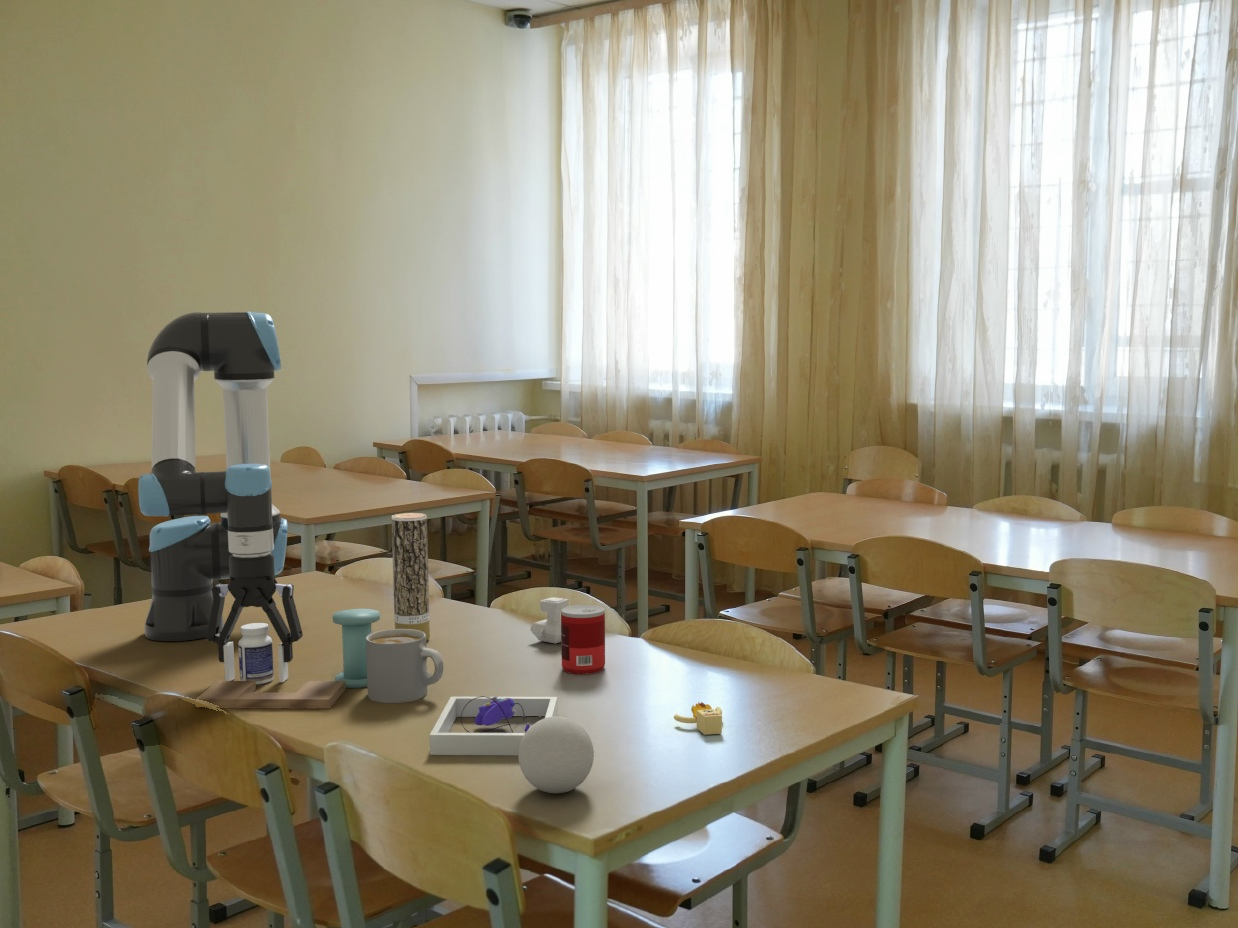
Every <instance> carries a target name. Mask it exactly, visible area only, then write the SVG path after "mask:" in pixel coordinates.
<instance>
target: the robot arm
mask: <svg viewBox="0 0 1238 928" xmlns="http://www.w3.org/2000/svg"><path fill="white" fill-rule="evenodd" d="M274 323H275V322H274V319H273V318H272V316H271V315H270V314H268V313H265V312H254V311H239V312H238V311H237V312H236V311H235V312H233V311H231V312H229V311H228V312H201V311H197V312H189V313H186V314H183V315H180V316H179V317H176V318H175V319H172V321H170V322H169V323H167V324H166V325H165V326H164V327H163V328H162V329H161V330H160V331H159V333H158V334H157V336H156V337H155V338H154V339H153V342H152V343H151V345H150V348H149V351H148V355H147V357H146V360H147V361H146V372H147V375H148V376H149V378H150V379H151V380H152V390H151V391H152V399H151V400H152V401H151V402H152V403H151V405H152V406H151V407H152V408H151V413H152V414H151V419H152V420H151V472H150V473H148V474H142V475H140V476H139V477H138V486H137V487H138V489H137V491H138V492H137V493H138V506H139V510H140V512H141V514H142V515H144V516H147V517H169V516H170V517H171V516H173V517H174V516H186V515H187V516H186V517H180V518H175V519H171V520H167V521H164V522H161V523H158V524H156V525H154V526H153V527H152V528H151V530H150V531H149V548H148V552H150V554H149V555H150V577H151V578H150V579H151V594H152V595H151V596H152V597H151V601H150V605H149V607H148V613H147V614H146V619H145V623H144V636H145V638H146V639H148V640H152V641H158V642H184V641H185V642H186V641H193V640H199V639H205V638H206V640H207V641H208V642H213V643H216V644H217V649H218V650H217V651H218V660H219V663H224V664H223V666H224V681H234V679H235V678H236V676H235V653H234V651H235V650H234V641H230V639H231V638H230V637H231V635H232V633H233V631H234V629H235V626H236V624H237V622H238V619H239V617H240V615H241V613H242V612H243V609H244V608H248V607H255V608H261V609H262V611H263V612H264V613H265V614H266V616H267V618H268V620H269V621H270V623H271V625H272V627H273V629H274V630H275V633H276V634H277V637H278V638H279V640H280V641H281V642H280V643H279V644H278V645H277V658H278V660H277V661H278V662H277V663H278V682H279V683H285V682H286V681H287V680H288V679H289V663H291V661H292V660H293V658H294V656H293V655H294V653H293V643H294V642H298V641H300V640H301V638H302V637H303V636H304V634H303V629H302V627H301V622H300V618H299V614H298V610H297V607H296V602H295V600H294V588H295V586H294V584H293V583H290V582H289V583H288V584H282V583H278V581H277V580H276V575H279V574H280V573H281V572H282V571H283V569H284V566H285V559H286V552H287V542H288V525H289V524H288V520H287V519H286V518H283V517H281V512H280V509H278V508H277V507H276V506H275V505H274V504H273V500H272V499H273V497H272V495H273V494H272V492H273V491H272V487H273V486H272V485H273V481H272V478H271V476H272V475H271V452H270V430H269V428H270V425H269V404H268V403H269V400H268V399H269V397H268V387H269V386H270V385H271V383H272V382H273V381H274V380H275V371H276V372H278V371H280V370H281V369H282V361H281V355H280V354H281V353H280V349H279V343H278V338H277V332H276V326H275V324H274ZM200 372H213V377H214V381H215V383H217V385H219V386H220V387H221V388H222V397H223V398H222V399H223V418H224V419H223V420H224V421H223V423H224V440H225V441H224V443H225V444H224V446H225V462H226V463H225V464H226V465H225V467H226V469H225V470H223V471H222V470H220V471H197V469H196V466H197V463H196V462H197V461H196V460H197V459H196V408H195V407H196V404H195V403H196V401H195V392H196V390H195V382H196V380H197V379H198V378H199V375H200ZM204 514H205V515H204ZM209 514H220V522H211V519H210V517H209V516H208V515H209ZM188 515H190V516H188ZM191 515H192V516H191ZM228 579H229V581H228V583H226V584H222V583H217V584H216V585H214V584H213V581H215V580H216V581H217V580H228ZM276 591H277V593H278V595H279V596H280V597H281V602H282V606H283V609H284V613H285V618H286V620H287V624H288V626H287V624H286V622H285V620H284V618H283V616H282V615H281V613H280V611H279V609H278V607H277V603H276V602H275V601H276V600H275V599H274V597H273V596H274V595H275V592H276ZM228 592H229V593H230V594H231V595H232V597H233V598H234V601H233V603H232V606H231V608H230V612H228V615H227V619H226V621H225V623H224V617H223V613H224V612H223V611H224V606H225V601H226V596H227V595H228Z"/></svg>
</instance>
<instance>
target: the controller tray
mask: <svg viewBox="0 0 1238 928" xmlns="http://www.w3.org/2000/svg"><path fill="white" fill-rule="evenodd" d="M476 697H477V696H450V698H448V699H449V700H448V701H447V702H446V705H445V706H444V708H443V710H442V712H441V714H440V715H439V717H438V720H437V721H436V723H435V725H434V726H433V729H431V732H430V733H429V755H430V756H519V747H520V743H521V740H522V738H523V736H524V734H525V732H483V733H477V732H450V731H451V729H452V727H453V725H454V723H455V721H456V719H457V718H461V714H462V718H476V716H477V714H478V713H479V712H480V711H479V707H481V706H483V705H485V704H487V703H490V702H491V701H493V700H492V699H490V698H492V697H493V696H485V697H481V696H478V697H479V698H476ZM487 697H489V698H487ZM474 698H476V699H474ZM505 698H511V699H513V701H514V704H515V703H519V704H520V705H521V706H522V708H523V710H522V708H521V706H520V705H519V704H515V709H516V711H515V712H514V715H513V716H545V717H544V718H547V717H553V716H557V715H558V713H559V712H558V697H557V696H498V697H497V699H505ZM472 699H474V700H472ZM471 700H472V701H471ZM469 701H471V702H469ZM468 702H469V703H468ZM467 703H468V704H467ZM466 704H467V705H466ZM465 705H466V706H465ZM464 707H465V708H464ZM463 708H464V710H463ZM462 711H463V712H462ZM523 711H524V714H523Z"/></svg>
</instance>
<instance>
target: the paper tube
mask: <svg viewBox="0 0 1238 928" xmlns="http://www.w3.org/2000/svg"><path fill="white" fill-rule="evenodd" d="M391 543H392V544H391V547H392V551H391V552H392V575H393V576H392V577H393V578H392V579H393V580H392V581H393V582H392V583H393V609H394V610H393V612H394V613H393V614H394V629H413V630H418V631H422V632H424V633H425V634H426V642H428V640H429V639H430V638H431V633H430V632H431V629H430V589H429V588H430V585H429V552H428V551H429V547H428V517H427V514H425V513H421V512H404V513H395V514H393V515H391Z"/></svg>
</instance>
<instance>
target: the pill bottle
mask: <svg viewBox="0 0 1238 928" xmlns="http://www.w3.org/2000/svg"><path fill="white" fill-rule="evenodd" d="M269 631H270V629H269V624H268V623H266V622H265V623H264V622H253V623H246V624H243V625H241V626H240V634H241V638H240V639H239V641H238V644H237V645H238V646H237V647H238V667H239V681H256V686H257V685H263V684H267V683H270V682H272V681H273V679H274V675H275V674H274V673H275V672H274V655H273V654H274V653H273V640H272V637H271V636H269V635H268V633H269Z"/></svg>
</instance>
